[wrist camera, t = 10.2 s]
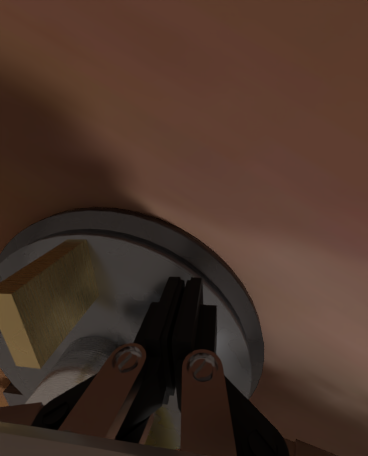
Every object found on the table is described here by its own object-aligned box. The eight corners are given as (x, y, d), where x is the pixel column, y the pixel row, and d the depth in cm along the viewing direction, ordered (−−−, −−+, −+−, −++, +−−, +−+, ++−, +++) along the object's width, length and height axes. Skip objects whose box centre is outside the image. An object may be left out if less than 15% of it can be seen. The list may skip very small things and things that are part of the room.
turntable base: (272, 203, 13) (275, 207, 12) (255, 440, 21) (257, 452, 20) (-43, 210, 17) (-56, 214, 16) (42, 408, 25) (35, 417, 24)
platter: (256, 228, 12) (283, 303, 7) (245, 449, 19) (254, 578, 14) (-45, 229, 16) (-195, 279, 10) (38, 416, 23) (-24, 508, 17)
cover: (132, 337, 15) (86, 435, 10) (150, 399, 17) (119, 507, 12) (54, 336, 16) (-22, 423, 11) (79, 394, 18) (24, 490, 13)
